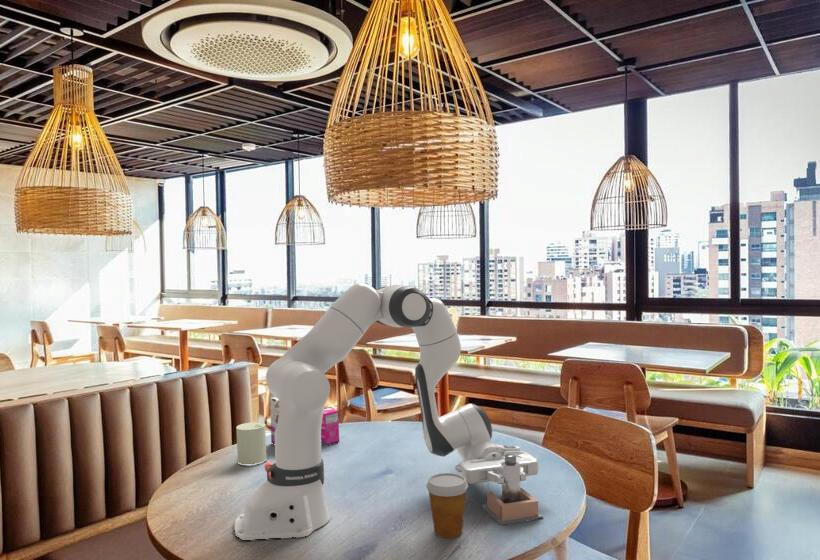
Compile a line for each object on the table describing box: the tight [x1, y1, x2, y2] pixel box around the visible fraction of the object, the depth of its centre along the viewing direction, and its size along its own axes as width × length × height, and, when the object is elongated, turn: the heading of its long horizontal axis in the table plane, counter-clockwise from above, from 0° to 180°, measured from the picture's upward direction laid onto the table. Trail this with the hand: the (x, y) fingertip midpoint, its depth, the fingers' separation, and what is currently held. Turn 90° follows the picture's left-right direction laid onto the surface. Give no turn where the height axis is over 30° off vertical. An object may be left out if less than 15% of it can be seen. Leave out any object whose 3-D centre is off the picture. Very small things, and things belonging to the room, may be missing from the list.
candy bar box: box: [269, 396, 280, 445], centre depth 197 cm, size 11×5×16 cm, turn 40°
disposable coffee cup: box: [426, 472, 469, 539], centre depth 130 cm, size 10×10×12 cm
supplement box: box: [321, 407, 340, 446], centre depth 199 cm, size 6×6×12 cm
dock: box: [481, 487, 544, 526], centre depth 139 cm, size 11×11×4 cm
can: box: [236, 421, 267, 464], centre depth 182 cm, size 9×9×12 cm
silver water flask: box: [501, 454, 521, 504], centre depth 139 cm, size 4×4×12 cm
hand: (512, 479), depth 138 cm, fingers closed on silver water flask, 4 cm apart
